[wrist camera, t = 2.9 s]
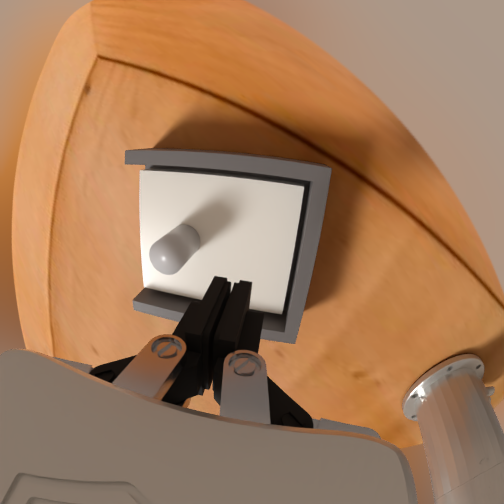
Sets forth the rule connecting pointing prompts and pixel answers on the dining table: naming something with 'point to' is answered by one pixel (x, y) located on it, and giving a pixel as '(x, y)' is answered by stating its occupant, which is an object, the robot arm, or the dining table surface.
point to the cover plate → (218, 233)
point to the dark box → (306, 239)
